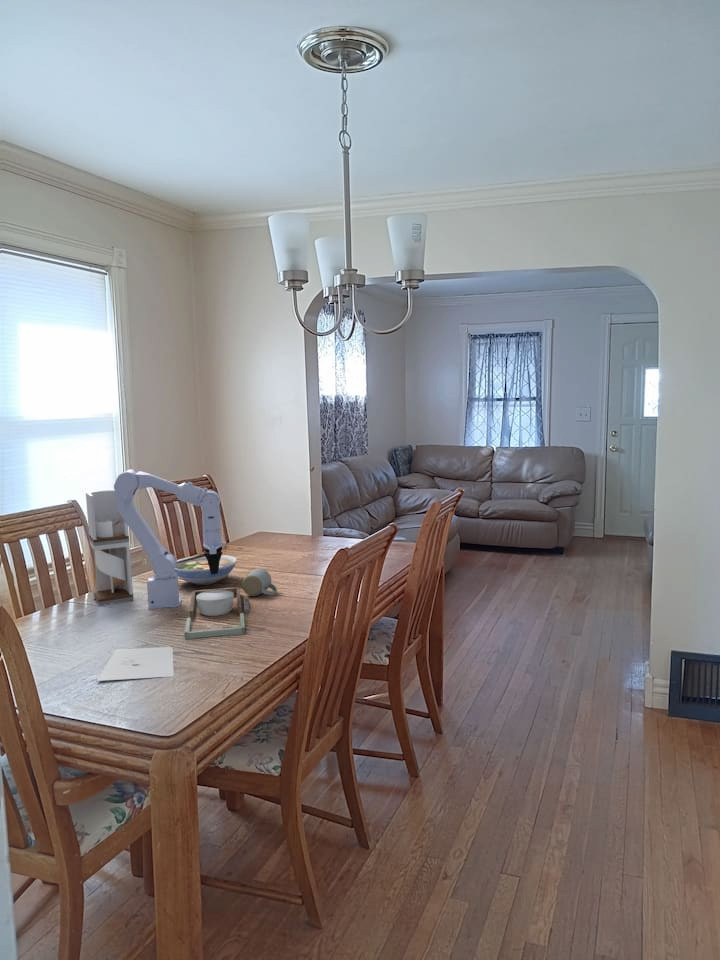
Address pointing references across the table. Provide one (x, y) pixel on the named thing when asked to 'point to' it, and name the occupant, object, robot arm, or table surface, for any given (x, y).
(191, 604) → the brown wooden flat frame
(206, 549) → the robot arm
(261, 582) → the ceramic mug
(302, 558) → the table surface
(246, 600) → the grey metal bar
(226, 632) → the sage bay
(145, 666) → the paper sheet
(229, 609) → the ramekin
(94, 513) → the white toy tower
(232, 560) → the ramen bowl
